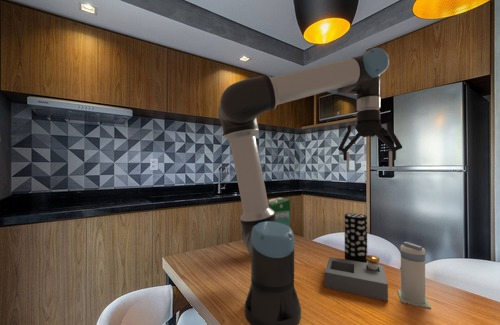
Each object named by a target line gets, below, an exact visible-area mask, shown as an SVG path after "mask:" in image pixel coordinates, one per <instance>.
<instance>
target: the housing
mask: <svg viewBox="0 0 500 325" xmlns="http://www.w3.org/2000/svg"><path fill="white" fill-rule="evenodd" d="M324 288H326V289H332V290H336V291H340V292H345V293H349V294H354V295H358V296H363V297H367V298H372V299H377V300H381V301H386V302H388V301H389V284H388V279H387V276H386V270H385V266H384V265H382V264H378V272H377V271H371V270H368V262H367V263H364V262H358V261H351V260H345V258H338V257H333V256H329V258H328V261H327V264H326V266H325V270H324Z"/></svg>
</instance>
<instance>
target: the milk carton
mask: <svg viewBox="0 0 500 325" xmlns="http://www.w3.org/2000/svg"><path fill="white" fill-rule="evenodd" d="M268 205H269V208H271V209H272V210H274V212H275V217H276V222H279V223H281V224H285V225H287V226H288V227H290V228H291V200H290V199H288V198H286V197H285V198H284V197H280V196H279V197H276V198H271V199H269V200H268Z"/></svg>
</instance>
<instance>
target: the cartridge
mask: <svg viewBox="0 0 500 325" xmlns="http://www.w3.org/2000/svg"><path fill="white" fill-rule="evenodd" d="M400 290H401V296H402V297H403V298H404V299H406V300H407V301H410V302H413V303H417V304H423V303H425V302H426V301H425V297H426V249H425V248H424V247H423V246H421V245H418V244H415V243H412V242H409V241H403V244H401V245H400Z"/></svg>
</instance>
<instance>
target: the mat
mask: <svg viewBox="0 0 500 325" xmlns="http://www.w3.org/2000/svg"><path fill="white" fill-rule="evenodd" d="M397 292H398V295H399V299H400V303H402V302H403V303H402V304H406V303H408V304H407V305H411V304H412V306H416V307H420V306H421V308H425V307H426V309H430V310H431V308H432V307H431V305H430V302H429V301H428V299H427V297H426V296H425V301H426V302H425V303H423V304H417V303H413V302H410V301H407V300H406V299H404V298H403V297H402V296H401V289H397Z"/></svg>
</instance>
